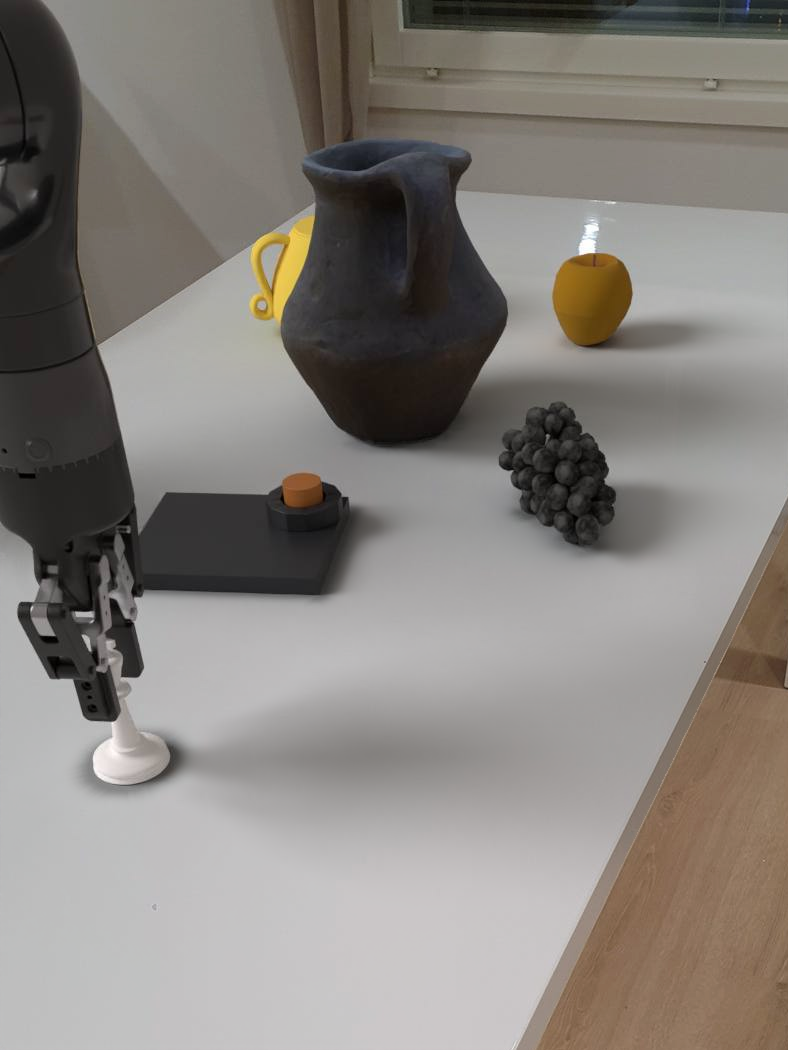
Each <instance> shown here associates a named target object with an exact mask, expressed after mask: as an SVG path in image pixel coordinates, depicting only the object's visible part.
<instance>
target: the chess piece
mask: <svg viewBox="0 0 788 1050" xmlns="http://www.w3.org/2000/svg"><path fill="white" fill-rule="evenodd" d="M105 639H106V647H107V656H108V665H110V668H111V672H112V676H113V680H114V684H115V688H116V692H117V696H118V700H119V704H120V708H121V713H120V715H119V716H118V718H117V720H116V721H114V722H110V724H111V734H112V737H110V738H108V739H106V740H105V741H103V742H102V743H101V744H99V746H98V747H97V748H96V749H95V751H94V753H93V756H92V764H93V772H94V774H95V776H97V777H98V778H99V779H100V780H101V781H103V782H106V783H108V784H112V785H118V786H119V785H121V786H125V785H126V786H128V785H129V786H130V785H136V784H139V783H143V782H146V781H149V780H151V779H153V778H155V777H157V776H159V774H161V773H162V772H163V771H164V770H165V769H166V768H167V767H168V765H169V763H170V760H171V753H170V750H169V748H168V746H167V743H166V741H165V740H164V739H163V738H162V737H160V736H158V735H156V734H154V733H152V732H148V731H138V729H137V727H136V725H135V722H134V719H133V717H132V715H131V712H130V710H129V707H128V705H127V702H126V699H125V698H127V697H129V696H130V694H131V693H132V686H131V684H130V683H129V681H126V680H125V679H121V678H122V677H121V668H122V663H123V656H122V654H121V653H120V652H119V651H117V650H114V649H113V648H114V647H115V646H116V644H115V640H113V639H109V638H106V635H105ZM87 641H88V644H89V645H90V639H89V637H88V636H87Z"/></svg>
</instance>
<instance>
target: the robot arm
mask: <svg viewBox="0 0 788 1050" xmlns="http://www.w3.org/2000/svg"><path fill="white" fill-rule="evenodd" d="M81 84H82V83H81V79H80V73H79V68H78V63H77V59H76V57H75V53H74V50H73V47H72V45H71V42H70V40H69V39H68V36H67V34H66V32H65V30H64V28H63V26H62V25H61V23H60V21H59V20H58V19H57V17H56V15H55V14H54V12H53V11H52V10H51V8H49V7H48V5H47V4H45V2H44V1H43V0H0V523H1V525H2V526H3V527H4V529H6V530H7V531H9V532H10V533H11V534H13V535H16V536H18V537H19V538H21V539H22V540H24V541H25V542H26V543H27V544H28V545H29V546H30V547H31V550H32V552H31V553H32V558H33V559H32V560H33V572H34V573H33V574H34V578H35V581H36V583H37V585H38V590H37V593H36V596H35V599H34V601H20V602H19V603H18V605H17V609H16V614H17V620H18V622H19V624H20V625H21V627H22V629H23V631H24V634H25V636H26V637H27V638H28V641H29V642H30V644H31V646H32V649H33V650H34V652H35V654H36V656H37V658H38V659H39V662H40V663H41V665H42V667H43V669H44V670H45V673H46V674H47V676H48V678H49V679H51V680H59V681H60V680H72V681H73V686H74V688H75V693H76V696H77V700H78V703H79V707H80V710H81V714H82V716H83V718H84V719H86V720H87V721H89V722H101V723H102V722H103V723H105V722H106V723H111V722H114V721H116V720H117V718H118V716H119V715H120V713H121V708H120V704H119V700H118V696H117V692H116V688H115V684H114V680H113V676H112V672H111V668H110V665H108V656H107V647H106V639H105V635H106V638H109V639H113V640H115V644H116V646H115V647H114V648H113V649H114V650H117V651H119V652H120V653H121V654H122V656H123V663H122V668H121V678H125V679H126V678H128V679H137V678H139V677H141V675H142V674H143V671H144V670H145V663H144V660H143V655H142V650H141V647H140V642H139V637H138V633H137V628H136V625H135V622H136V621H137V618H138V613H139V612H138V607H137V603H136V601H135V598H143V596H144V592H145V589H144V584H143V574H142V564H141V554H140V544H139V534H140V533H139V524H138V514H137V512H138V511H137V506H136V503H135V501H136V500H135V499H136V497H135V495H136V494H135V490H134V485H133V481H132V476H131V472H130V468H129V463H128V458H127V453H126V448H125V444H124V439H123V434H122V430H121V425H120V420H119V416H118V411H117V407H116V402H115V397H114V393H113V387H112V384H111V380H110V377H109V374H108V371H107V368H106V365H105V363H104V360H103V358H102V354H101V352H100V349H99V344H98V341H97V335H96V333H95V327H94V322H93V318H92V313H91V309H90V304H89V300H88V295H87V291H86V287H85V281H84V278H83V272H82V267H81V261H80V247H79V246H80V241H79V238H80V237H79V235H80V233H79V232H80V227H79V226H80V225H79V224H80V173H81V172H80V171H81V157H82V142H83V141H82V139H83V93H82V85H81ZM76 613H91V614H92V616H93V617H92V616H76V615H77V614H76ZM83 636H86V637H87V638H88V637H89V639H90V644H89V645H90V649H89V648H88V646H87V645H88V644H87V643H86V641H85V639H84V637H83Z"/></svg>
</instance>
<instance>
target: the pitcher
mask: <svg viewBox="0 0 788 1050" xmlns="http://www.w3.org/2000/svg"><path fill="white" fill-rule="evenodd" d="M472 159H473V158H472V155H471V152H469V151H468V150H466V149H464V148H462V147H458V146H455V145H449V144H448V145H447V144H440V143H438V142H434V141H430V140H422V139H409V138H408V139H406V138H389V137H376V138H375V137H374V138H364V139H359V140H353V141H351V140H350V141H345V142H342V143H338V144H335V145H332V146H328V147H323V148H321V149H318V150H316V151H313V152H311V153H310V154H308V155H306V156H305V157H304V158H303V159H302V160H301V162H300V163H301V168H302V170H301V171H302V173H303V175H304V176H305V177H306V179H307V181H308V182H309V184H310V185H311V187H312V189H313V191H314V197H315V204H314V215H315V218H314V224H313V230H312V235H311V240H310V244H309V249H308V253H307V257H306V260H305V263H304V266H303V268H302V270H301V273H300V275H299V277H298V279H297V281H296V283H295V285H294V288H293V290H292V292H291V294H290V296H289V297H288V299H287V301H286V303H285V306H284V308H283V313H282V317H281V326H280V337H281V342H282V344H283V348H284V350H285V351H286V352H285V353H286V354H287V355H288V357H289V358H290V360H291V362H292V364H293V366H294V367H295V369H296V370H297V372H298V373H299V375H300V376H301V378H302V380H303V381H304V383H305V384H306V385H307V386H308V388H310V390H311V391H312V392H313V394H314V396H315V397H316V399H317V400H318V401H319V403H320V405H321V406H322V408H323V409H324V410H325V412H326V414H327V415H328V417H329V419H330V420H331V421H332V422H333V423H334V425H335V426H336V427H337V428H338V429H340V430H342V431H343V432H344V433H347V434H348V435H351V436H353V437H355V438H357V439H359V440H361V441H368V442H369V441H370V442H372V443H376V444H400V443H401V444H402V443H413V442H419V441H424V440H429V439H430V440H431V439H433V438H438V437H439V436H441V435H442V434H443V433H444V432H446V431H447V430H448V429H449V427H450V426H451V425H452V423H453V422H454V420H455V419H456V418H457V416H458V415H459V414H460V411H461V410H462V407H464V406H463V405H464V404H465V402H466V400H467V398H468V397H469V395H470V392H471V390H472V388H473V386H474V384H476V381H477V380H478V377H479V375H480V373H481V371H482V369H483V367H484V365H485V364H486V362H487V361H488V360H489V358H490V356H491V355H492V353H493V351H494V349H495V348H496V346H497V345H498V342H499V341H500V339H501V337H502V335H503V334H504V331H505V330H506V327H507V322H508V317H509V308H508V300H507V298H506V296H505V294H504V292H503V290H502V288H501V286H500V285H499V284H498V282H497V281H496V279H495V278H494V277H493V276H492V274H491V273H490V271H489V270H488V268H487V266H486V265H485V263H484V261H483V260H482V258H481V256H480V254H479V253H478V251H477V250H476V247H475V246H474V244H473V241H472V240H471V238H470V236H469V234H468V232H467V230H466V228H465V226H464V224H463V221H462V218H461V216H460V212H459V210H458V206H457V201H456V200H457V189H458V188H457V187H458V184H459V182H460V180H461V177H462V176H463V174H465V173H466V171H467V170H468V169H469V167H470V166H471V164H472V161H473V160H472Z"/></svg>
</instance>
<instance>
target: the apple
mask: <svg viewBox="0 0 788 1050" xmlns="http://www.w3.org/2000/svg"><path fill="white" fill-rule="evenodd" d="M551 294H552V295H551V297H552V299H551V300H552V305H553V310H554V314H555V316H556V319H557V321H558V323H559V325H560V328H561V329H562V331H563V334H564V335H565V336H566V338H567V339H568V340H569V341H570V342H571V343H573V344H575V345H578V346H590V345H592V346H593V345H597V344H600V343H604V342H605V341H607V340H608V339H610V338H611V337H612V335H614V333H615V332H616V331H617V329H619V326H620V325H621V324H622V322H623V321H624V319H625V318H626V315H627V314H628V312H629V310H630V307H631V305H632V300H633V294H634V291H633V284H632V279H631V276H630V273H629V271H628V269H627V267H626V265H625V263H624V262H623V261H622V260H621V259H619V258H618V257H616V256H615V255H612V254H610V253H602V252H587V253H584V254H580V255H576V256H572V257H570V258H568V259H566V260H565V261H564V262H563V263H562V264H561V266H560V267H559V269H558V271H557V272H556V274H555V279H554V284H553V289H552V293H551Z"/></svg>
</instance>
